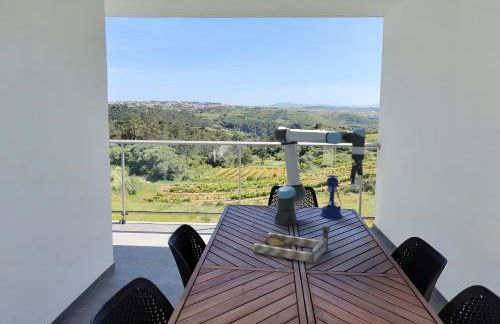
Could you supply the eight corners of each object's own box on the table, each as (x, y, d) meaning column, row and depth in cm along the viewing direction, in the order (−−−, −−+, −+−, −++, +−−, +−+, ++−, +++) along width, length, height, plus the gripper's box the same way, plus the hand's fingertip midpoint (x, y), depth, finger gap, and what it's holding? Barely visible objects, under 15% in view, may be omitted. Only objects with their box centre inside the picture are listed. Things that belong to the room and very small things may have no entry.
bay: (253, 251, 190) (253, 230, 188) (271, 237, 213) (271, 218, 211) (318, 263, 175) (318, 240, 174) (329, 246, 199) (330, 226, 197)
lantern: (319, 212, 271) (321, 172, 267) (340, 213, 269) (342, 173, 265) (320, 218, 254) (322, 176, 250) (343, 219, 252) (345, 177, 248)
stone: (286, 251, 191) (286, 242, 190) (269, 253, 189) (269, 243, 188) (278, 242, 205) (278, 233, 205) (262, 243, 203) (262, 234, 203)
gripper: (358, 155, 214) (356, 191, 216) (368, 152, 235) (366, 184, 238) (346, 154, 218) (343, 189, 220) (357, 151, 239) (355, 183, 242)
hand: (355, 187), depth 229 cm, fingers open, 13 cm apart
